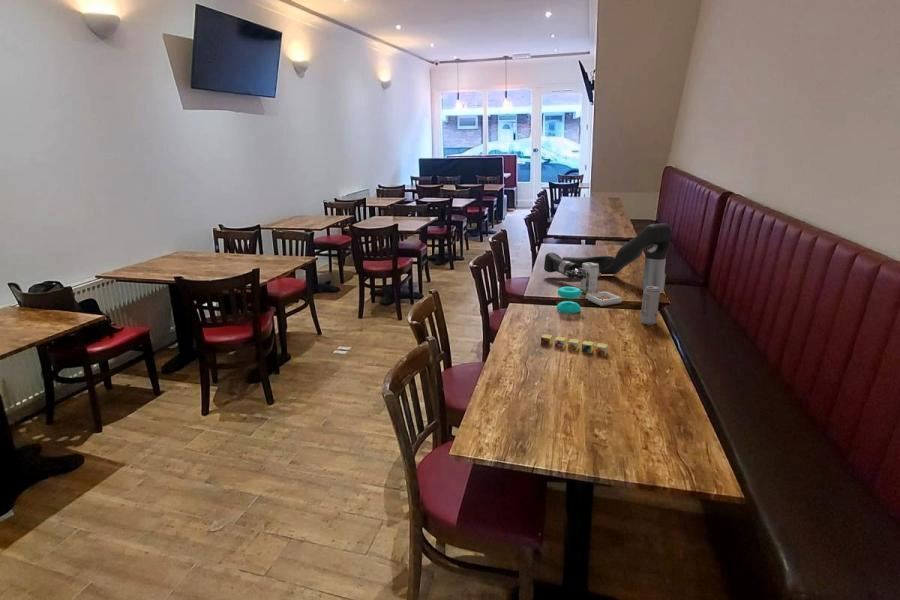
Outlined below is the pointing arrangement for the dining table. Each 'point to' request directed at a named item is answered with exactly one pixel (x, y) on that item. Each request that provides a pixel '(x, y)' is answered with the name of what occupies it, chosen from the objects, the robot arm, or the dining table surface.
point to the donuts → (569, 294)
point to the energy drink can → (650, 305)
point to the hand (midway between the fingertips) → (589, 276)
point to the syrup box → (589, 277)
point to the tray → (594, 299)
